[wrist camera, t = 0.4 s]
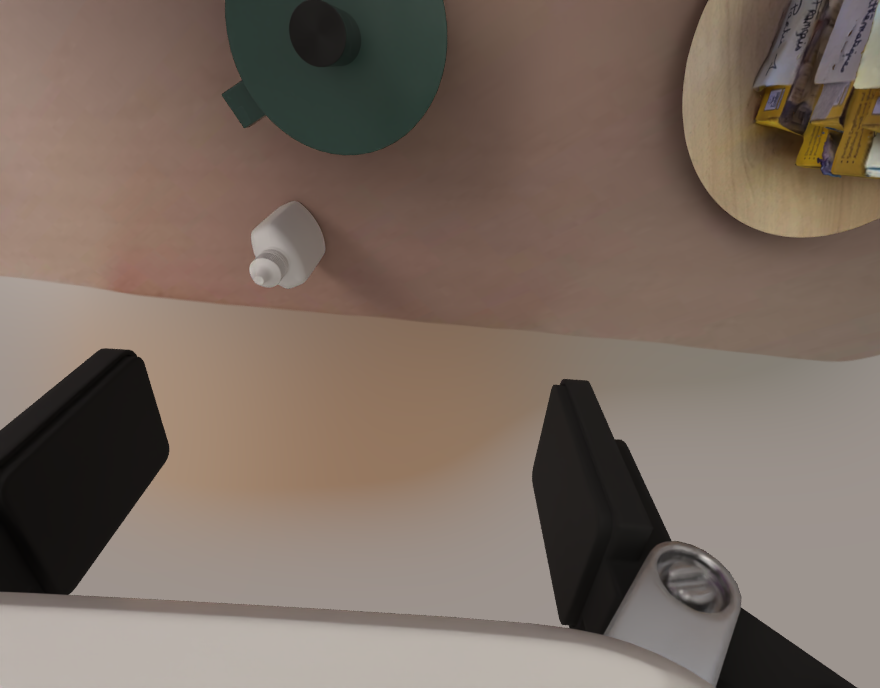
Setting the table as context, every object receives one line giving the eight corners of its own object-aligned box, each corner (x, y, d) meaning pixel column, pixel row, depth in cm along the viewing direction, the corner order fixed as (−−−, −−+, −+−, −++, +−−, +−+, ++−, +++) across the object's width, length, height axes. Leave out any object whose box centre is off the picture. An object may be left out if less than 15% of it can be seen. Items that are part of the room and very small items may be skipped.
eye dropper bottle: (281, 255, 46) (232, 311, 36) (277, 197, 43) (223, 239, 33) (326, 260, 46) (291, 317, 36) (325, 202, 43) (286, 246, 33)
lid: (185, -17, 29) (125, -34, 23) (374, -166, 25) (354, -225, 20) (316, 186, 35) (292, 209, 30) (483, 89, 31) (489, 94, 26)
